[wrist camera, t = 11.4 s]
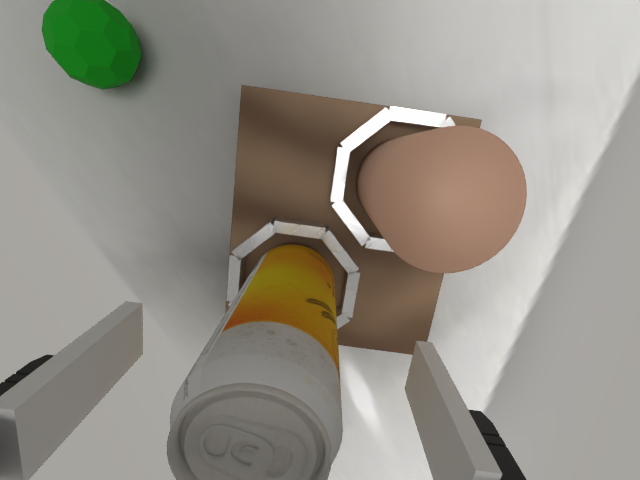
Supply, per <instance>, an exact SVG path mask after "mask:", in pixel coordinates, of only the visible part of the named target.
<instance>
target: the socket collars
mask: <svg viewBox="0 0 640 480" xmlns="http://www.w3.org/2000/svg"><path fill="white" fill-rule="evenodd" d="M387 123H395V124H402V125H409V126H416V127H423V128H430V129H437V128H442V127H447V126H456V125H455V123H454V122H453V120H452V119H451V117H448V118H446V114H442V113H435V112H428V111H421V110H414V109H407V108H400V107H393V106H390V107H389V108H388V109H387V108H385V109H383V110H382V111H381V112H380V113H378V114H377V115H376V116H375V117H373V118H372V119H371V120H369V121H368V122H367V123H366V124H364V125H363V126H362V127H360V128H359V129H358V130H357V131H355V132H354V133H353V134H351V135H350V136H349V137H348V138H346V139H345V140H344V141H342V142H341V143H340V145H341V146H342V148H341V147H337V154H336V161H335V168H334V174H333V181H332V188H331V195H330V201H332V202H331V206H332V207H333V208H334V210H335V211H336V212H337V214H338V215H339V216H340V218H341V219H342V220H343V222H344V223H345V224H346V226H347V227H348V228H349V230H350V231H351V232H352V234H353V235H354V236H355V238H356V239H357V240H358V242H359V243H360V244H361V246H362V245H364V246H365V248H369V249H376V250H384V251H391V252H394V251H393V250H392V249H391V248H390V246H389V245H388V243H387V242H386V241H385V239H384V238H383V236H382V235H381V234H377V233H370V232H367V231H366V230H365V228H364V227H363V226H362V224H361V223H360V222H359V220H358V219H357V218H356V216H355V215H354V214H353V212H352V211H351V209H350V208H349V207H348V205H347V204H346V203H345V201H344V200H343V194H344V188H345V181H346V175H347V169H348V162H349V156H350V151H352V150H353V149H354V148H356V147H357V146H358V145H359V144H361V143H362V142H363V141H365V140H366V139H367V138H369V137H370V136H371V135H372V134H374V133H375V132H376V131H378V130H379V129H380V128H382V127H383V126H384V125H385V124H387ZM275 233H281V234H288V235H295V236H303V237H310V238H317V239H322V240H323V242H324V243H325V244H326V246H327V247H328V248H329V249H330V251H331V252H332V253H333V255H334V256H335V257H336V258H337V260H338V261H339V262H340V264H341V265H342V266H343V267H344V269H345V270H346V277H345V283H344V289H343V295H342V301H341V305H340V306H339V307H337V308H336V318H337V329H339V328H340V327H342V326H343V325H345V324H346V323H348V322H349V321H350V318H352V316H353V310H354V305H355V299H356V293H357V288H358V282H359V277H360V271H359V267H358V263H357V261H356V260H355V259H354V257H353V256H352V255H351V254H350V252H349V251H348V250H347V248H346V247H345V246H344V244H343V243H342V242H341V240H340V239H339V238H338V237H337V235H336V234H335V233H334V231H333V230H332V229H331V227H330V226H328V227H327V228H326V224H325V223H318V222H310V221H303V220H296V219H289V218H281V217H277V218H276V220H275V219H274V218H273V219H272V220H270V221H269V222H268V223H266V224H265V225H264V226H263V227H261V228H260V229H259V230H257V231H256V232H255V233H253V234H252V235H251V236H250V237H248V238H247V239H246V240H244V241H243V242H242V243H240V244H239V245H238V246H237V247H236V248H235V249H234V250H233V251H232V253H231V254H230V258H229V272H228V286H227V300H226V301H230V302H229V303H228V305H229V307H230V306H231V304H232V303H233V301H234V299H235V298H236V296H237V294H238V293H239V291H240V290H241V288H242V286H243V282H244V270H245V258H246V255H247V254H248V253H250V252H251V251H252V250H254V249H255V248H256V247H258V246H259V245H260V244H262V243H263V242H264V241H266V240H267V239H268V238H270V237H271V236H272V235H273V234H275Z"/></svg>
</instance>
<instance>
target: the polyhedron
mask: <svg viewBox="0 0 640 480" xmlns="http://www.w3.org/2000/svg"><path fill="white" fill-rule="evenodd" d="M42 33H43V37H44V41H45V46H46V49H47V50H48V52H49V53H50V54H51V55H52V57H53V58H54V59H55V60H56V61H57V63H58V64H59V65H60V66H61V67H62V68H63V69H64V71H65V72H66V73H67V74H68V75H69V76H70V77H71V78H73V79H76V80H78V81H80V82H82V83H85V84H87V85H90V86H93V87H97V88H100V89H108V88H113V87H117V86H120V85H122V84H124V83H127V82H129V81H131V79H132V77H133V75H134V73H135V71H136V69H137V67H138V65H139V62H140V60H141V51H140V44H139V40H138V38H137V35H136V33H135V31H134V29H133V27H132V25H131V24H130V23H129V22H128V21H127V19H126V18H125V17H124V16H123V14H122V13H121V12H120V11H119V10H117V9H116V8H114V7H113V6H111V5H110V4H109V3H107V2H106V1H104V0H55V1H53V2H52V3H51V5H50V6H49V8H48V9H47V11H46V12H45V14H44V17H43V25H42Z"/></svg>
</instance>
